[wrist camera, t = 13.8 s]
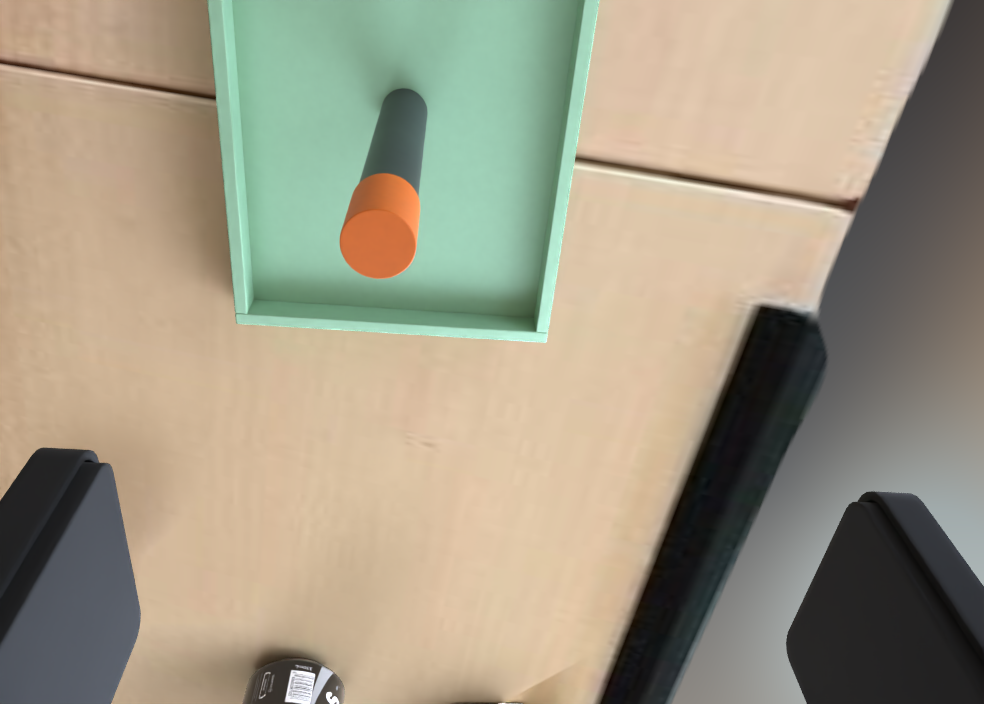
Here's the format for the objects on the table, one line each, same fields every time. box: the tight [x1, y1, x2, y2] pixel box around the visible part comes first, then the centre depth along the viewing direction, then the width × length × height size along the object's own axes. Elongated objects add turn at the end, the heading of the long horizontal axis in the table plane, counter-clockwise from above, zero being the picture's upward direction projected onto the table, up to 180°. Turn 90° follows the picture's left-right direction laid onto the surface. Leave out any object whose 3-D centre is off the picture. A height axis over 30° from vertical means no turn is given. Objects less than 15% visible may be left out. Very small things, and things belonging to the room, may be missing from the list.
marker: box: [339, 88, 427, 279], centre depth 28 cm, size 2×2×14 cm
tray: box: [207, 0, 599, 343], centre depth 34 cm, size 21×15×2 cm
